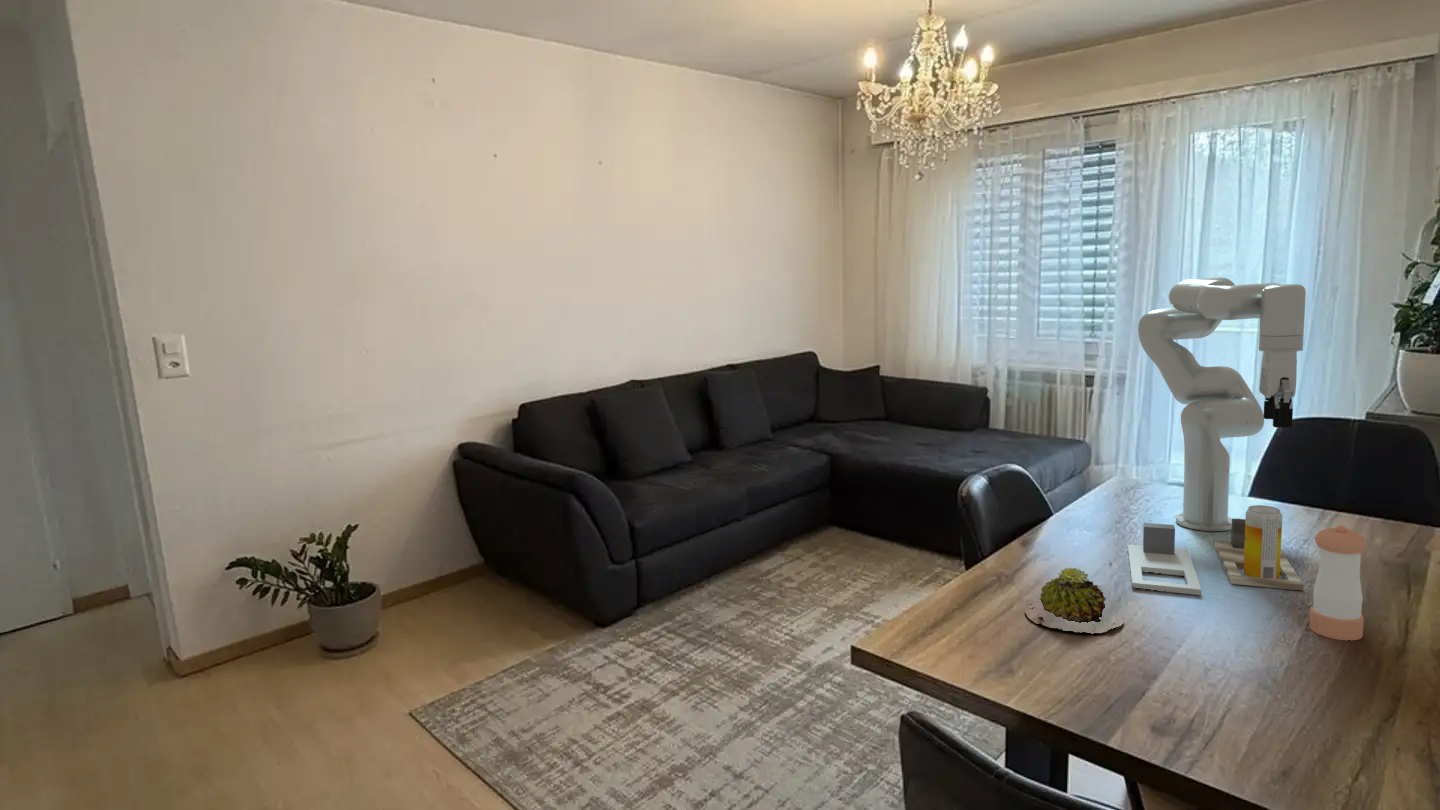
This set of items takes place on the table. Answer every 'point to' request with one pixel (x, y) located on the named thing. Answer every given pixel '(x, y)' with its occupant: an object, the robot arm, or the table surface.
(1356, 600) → the pepper shaker
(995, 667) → the table surface
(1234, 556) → the wooden board with cutout
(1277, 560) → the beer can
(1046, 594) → the cactus
